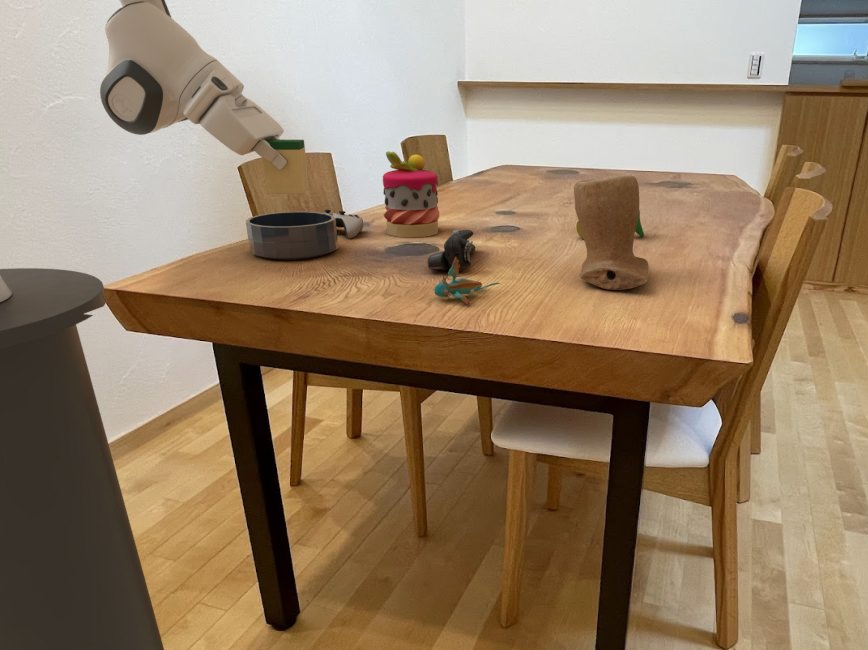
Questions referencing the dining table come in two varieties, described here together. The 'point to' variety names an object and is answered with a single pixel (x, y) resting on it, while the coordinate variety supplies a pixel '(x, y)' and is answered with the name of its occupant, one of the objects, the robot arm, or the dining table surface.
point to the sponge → (287, 169)
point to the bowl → (292, 235)
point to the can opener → (454, 251)
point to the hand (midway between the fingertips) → (288, 164)
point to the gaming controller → (348, 223)
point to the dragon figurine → (457, 285)
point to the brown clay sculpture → (610, 232)
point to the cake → (410, 198)
